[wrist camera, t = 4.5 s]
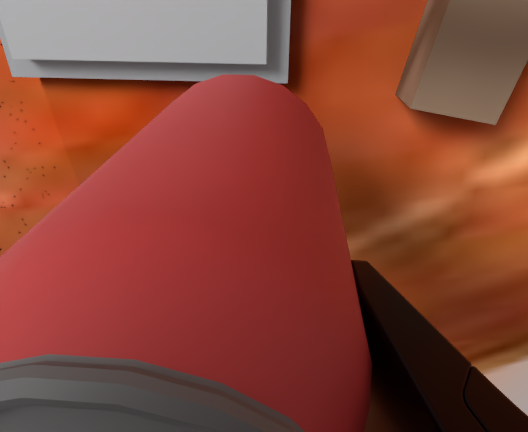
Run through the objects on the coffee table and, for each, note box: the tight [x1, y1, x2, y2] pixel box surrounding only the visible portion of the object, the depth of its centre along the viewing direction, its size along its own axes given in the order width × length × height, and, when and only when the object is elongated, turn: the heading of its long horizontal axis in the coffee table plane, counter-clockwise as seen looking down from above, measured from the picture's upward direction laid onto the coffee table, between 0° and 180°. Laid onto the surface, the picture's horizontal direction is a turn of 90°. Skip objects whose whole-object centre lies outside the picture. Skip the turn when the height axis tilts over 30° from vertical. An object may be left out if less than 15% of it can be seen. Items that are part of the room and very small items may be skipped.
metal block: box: [395, 0, 528, 125], centre depth 17 cm, size 6×4×3 cm, turn 170°
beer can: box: [0, 74, 372, 432], centre depth 10 cm, size 7×7×12 cm
